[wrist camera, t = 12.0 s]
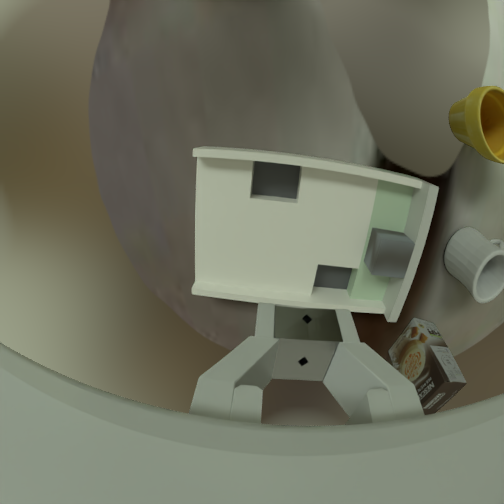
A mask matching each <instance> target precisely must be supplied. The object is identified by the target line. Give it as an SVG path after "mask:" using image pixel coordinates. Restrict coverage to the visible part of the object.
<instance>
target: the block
mask: <svg viewBox="0 0 504 504" xmlns="http://www.w3.org/2000/svg"><path fill="white" fill-rule="evenodd" d="M414 247H415V243H414V242H413V241H412V240H411V239H410V238H409V237H408V236H406V235H405V234H404V233H402V232H397V231H391V230H385V229H379V228H373V227H372V231H371V235H370V239H369V243H368V247H367V250H366V254H365V258H364V262H365V264H366V266H367V268H368V269H369V271H370V273H371V275H378V276H387V277H396V278H404V277H405V274H406V271H407V268H408V265H409V262H410V259H411V256H412V253H413V250H414Z"/></svg>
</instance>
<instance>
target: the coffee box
mask: <svg viewBox="0 0 504 504" xmlns="http://www.w3.org/2000/svg"><path fill="white" fill-rule="evenodd" d="M388 352H389V355H390V358H391V360H392V363H393V366H394V368H395V369H396V370H397V371H398V372H400V373H401V374H402V375H403V376H404V377H406V378H407V379H408V380H409V381H410V382H412V383H413V384H414V386H415V388H416V391H417V394H418V397H419V400H420V403H421V406H422V409H423V412H424V415H429V414H434V413H436V412H437V411H438V410H439V409H440V408H441V407H442V406H444V405H445V404H446V403H447V402H448V401H449V400H450V399H451V398H452V397H453V396H454V395H455V394H456V393H457V392H458V391H459V390H461V388H462V387H464V386H465V385H466V381H465V379H464V377H463V375H462V373H461V371H460V369H459V367H458V365H457V363H456V361H455V360H454V358H453V356H452V354H451V352H450V350H449V349H448V347H447V345H446V343H445V342H444V340H443V338H442V336H441V334H440V333H439V331H438V329H437V328H436V326H435V324H434V323H431V322H428V321H424V320H421V319H417V318H413V319H412V320H411V322H410V323H409V325H408V326H407V327H406V329H405V330H404V331H403V333H402V334H401V335H400V337H399V338H398V339H397V341H396V342H395V343H394V344H393V346H392V347H391V348H390V350H389V351H388Z"/></svg>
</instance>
